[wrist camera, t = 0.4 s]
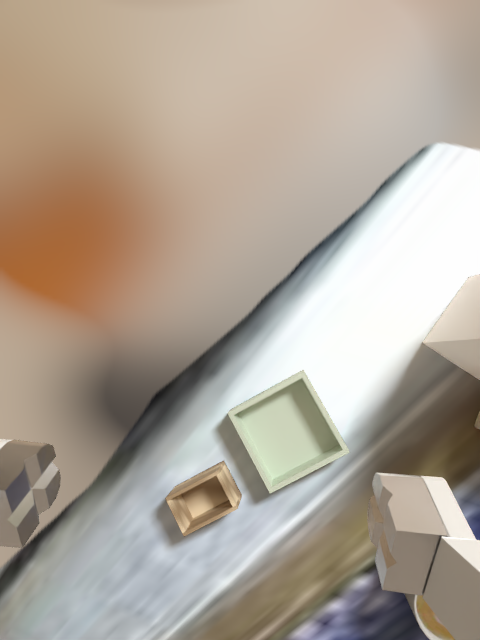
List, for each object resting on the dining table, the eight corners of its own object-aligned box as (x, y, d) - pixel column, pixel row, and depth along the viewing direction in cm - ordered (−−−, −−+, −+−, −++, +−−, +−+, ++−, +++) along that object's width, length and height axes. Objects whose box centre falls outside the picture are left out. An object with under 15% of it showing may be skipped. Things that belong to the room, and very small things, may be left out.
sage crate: (346, 445, 58) (349, 452, 54) (271, 483, 60) (269, 493, 56) (303, 369, 60) (304, 371, 56) (231, 408, 61) (227, 413, 57)
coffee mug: (378, 561, 57) (396, 606, 47) (424, 513, 56) (453, 548, 46) (450, 633, 55) (485, 696, 45) (500, 583, 54) (546, 636, 44)
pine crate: (242, 495, 60) (237, 508, 55) (192, 521, 61) (183, 536, 56) (223, 460, 61) (217, 470, 56) (175, 486, 62) (165, 498, 57)
